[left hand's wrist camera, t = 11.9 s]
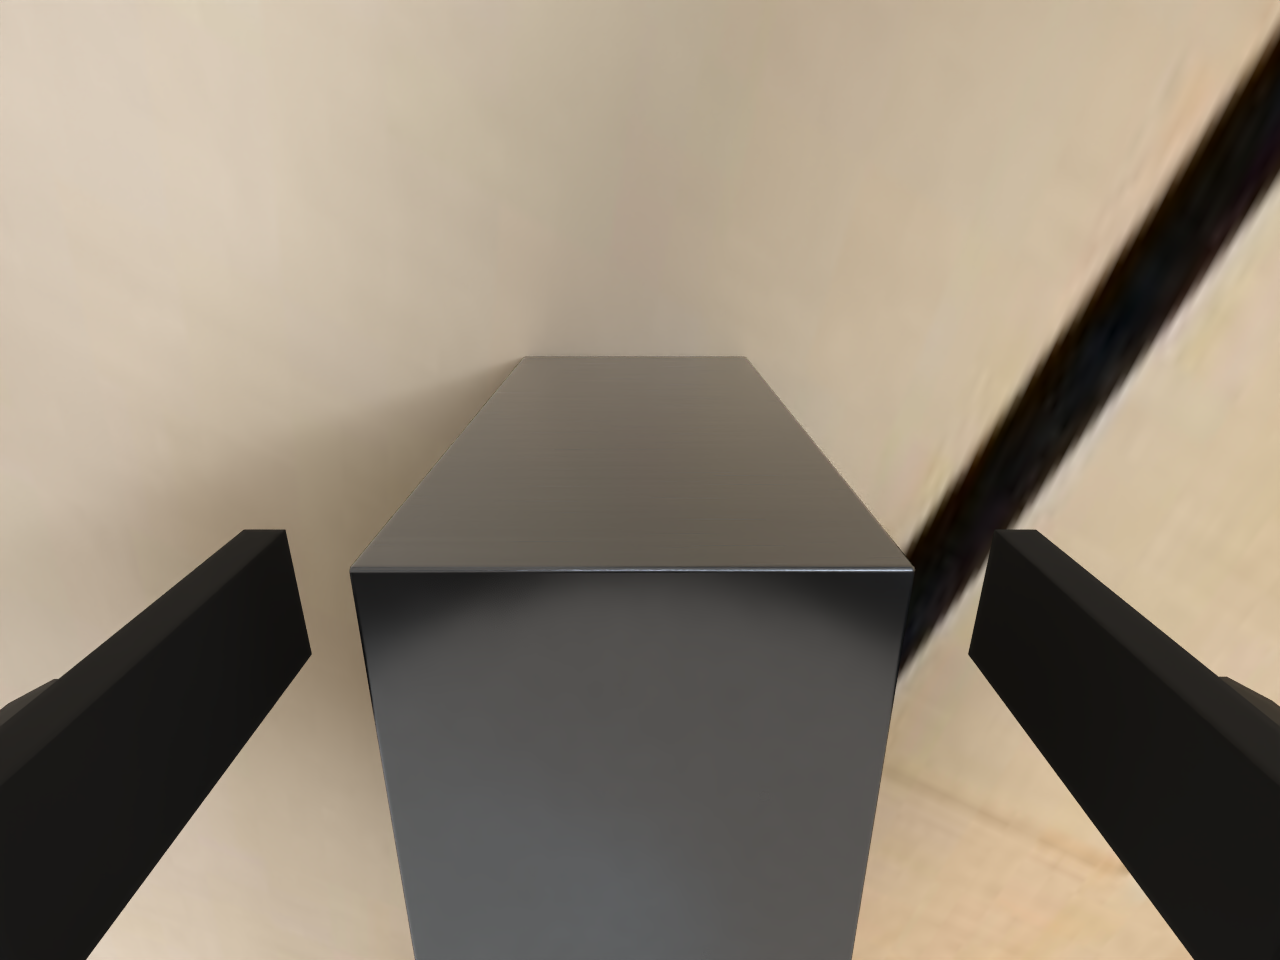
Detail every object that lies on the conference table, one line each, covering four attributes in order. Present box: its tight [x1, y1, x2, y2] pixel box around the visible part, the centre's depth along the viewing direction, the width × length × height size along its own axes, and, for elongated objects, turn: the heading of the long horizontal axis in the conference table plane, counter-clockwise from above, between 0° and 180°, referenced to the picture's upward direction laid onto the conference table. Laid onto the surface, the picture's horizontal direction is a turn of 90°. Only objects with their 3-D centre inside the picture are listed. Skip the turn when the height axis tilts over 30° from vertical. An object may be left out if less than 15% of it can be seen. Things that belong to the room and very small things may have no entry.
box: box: [350, 357, 915, 960], centre depth 17 cm, size 21×6×12 cm, turn 0°
